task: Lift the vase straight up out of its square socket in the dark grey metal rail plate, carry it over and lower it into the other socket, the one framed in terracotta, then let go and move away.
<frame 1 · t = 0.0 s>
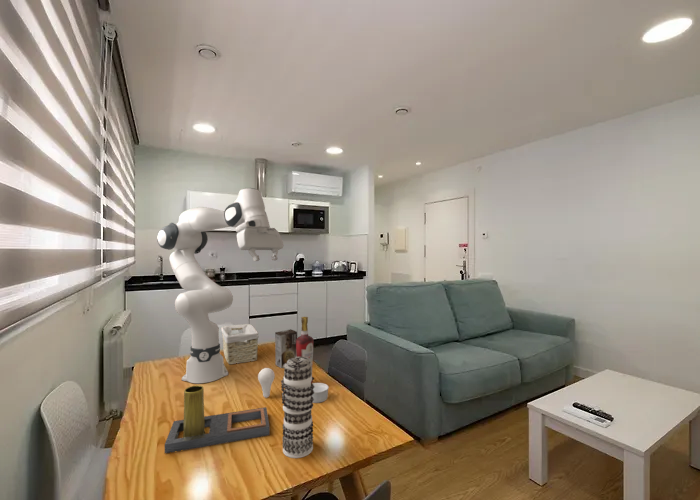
hand: (266, 260, 124), 52 cm above the table, tool tilted 20°, fingers open, 8 cm apart
storage basket: (239, 357, 171), on the table
coffee box: (286, 365, 159), on the table
liquor: (304, 385, 135), on the table
lightbulb: (266, 397, 123), on the table
decorative candle: (297, 449, 91), on the table
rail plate: (220, 432, 100), on the table
vase: (193, 437, 97), resting in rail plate
ramekin: (316, 399, 122), on the table
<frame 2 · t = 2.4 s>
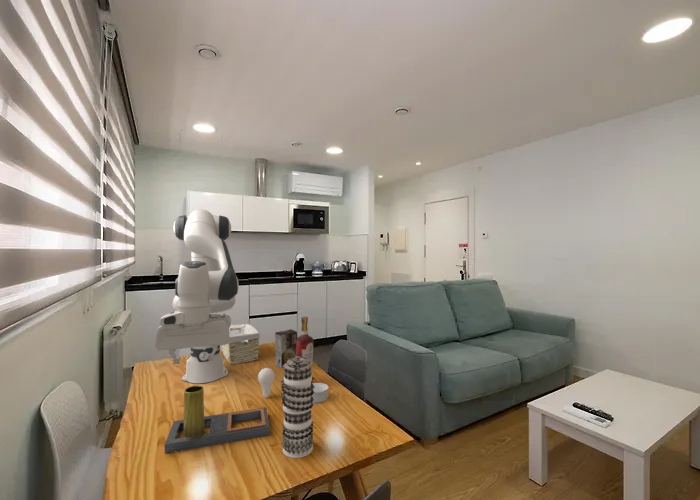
hand: (194, 361, 97), 22 cm above the table, tool pointing down, fingers open, 8 cm apart
nothing on the table moved.
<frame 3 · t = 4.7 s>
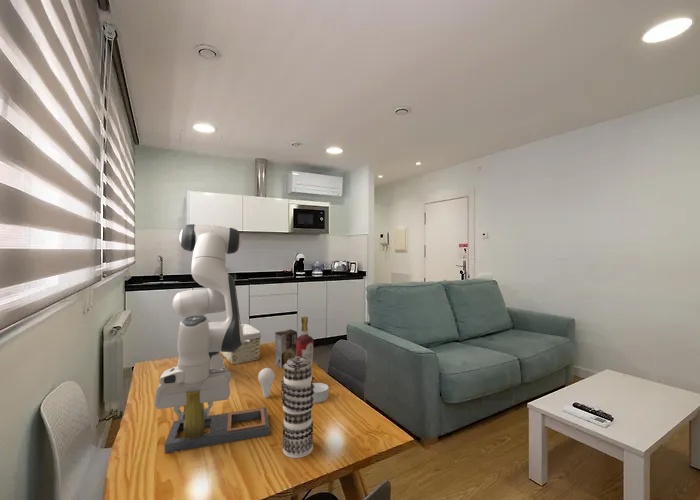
hand: (194, 417, 97), 6 cm above the table, tool pointing down, fingers closed on vase, 5 cm apart
vase: (193, 437, 97), resting in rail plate, touching gripper
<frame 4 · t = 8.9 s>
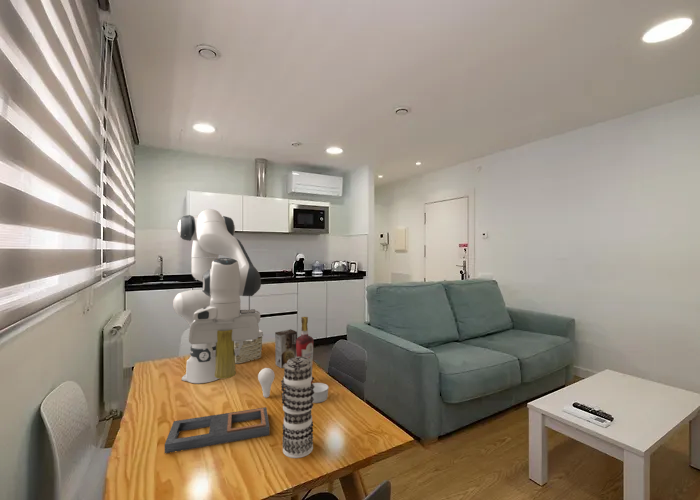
hand: (225, 355, 100), 23 cm above the table, tool pointing down, fingers closed on vase, 5 cm apart
vase: (225, 375, 100), point 17 cm above the table, touching gripper
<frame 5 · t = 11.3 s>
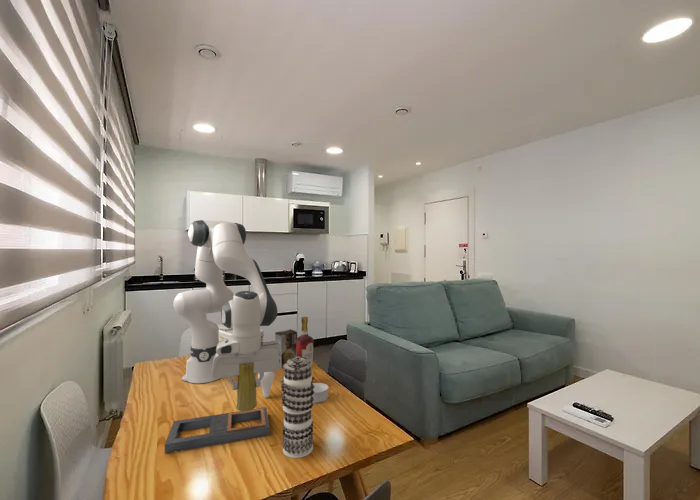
hand: (246, 387, 102), 13 cm above the table, tool pointing down, fingers closed on vase, 5 cm apart
vase: (246, 407, 102), point 6 cm above the table, touching gripper
when the fingers open (7 cm above the table, at t = 13.2 s): vase stays where it is, resting in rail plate.
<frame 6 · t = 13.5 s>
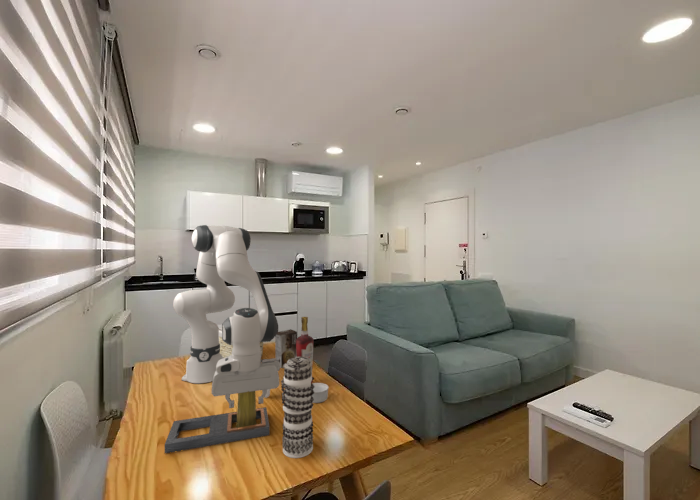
hand: (246, 405, 102), 7 cm above the table, tool pointing down, fingers open, 7 cm apart
vase: (246, 427, 102), resting in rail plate
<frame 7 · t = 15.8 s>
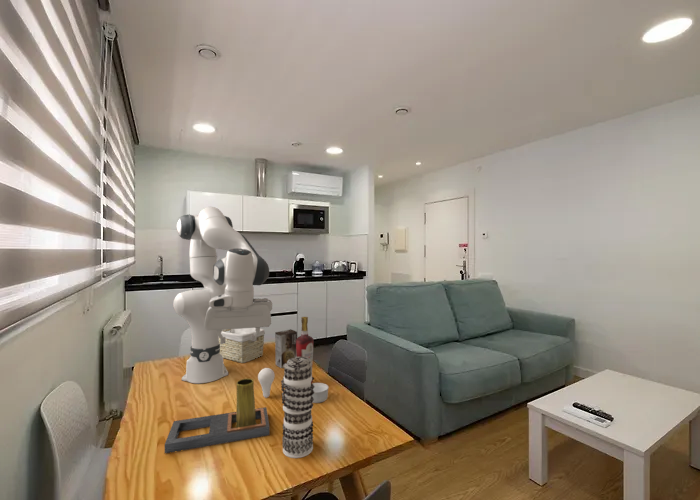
hand: (238, 342, 105), 26 cm above the table, tool pointing down, fingers open, 8 cm apart
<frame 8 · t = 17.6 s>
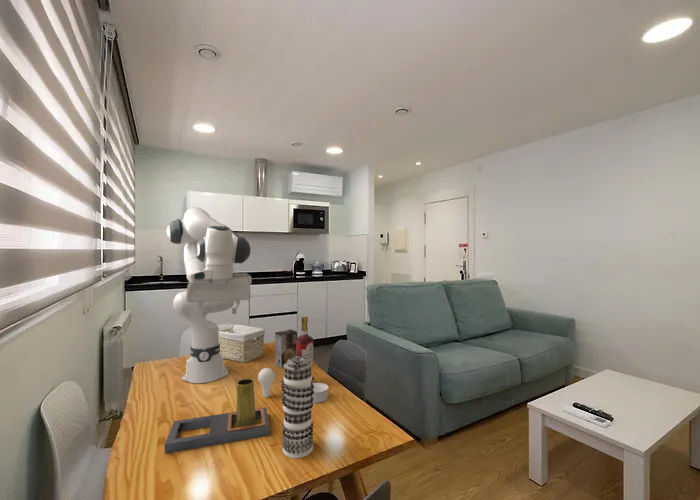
hand: (219, 314, 110), 34 cm above the table, tool pointing down, fingers open, 8 cm apart
at the end: vase 0.6 cm from the target spot on the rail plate, point 0.0 cm above the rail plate's base; vase tilted 1°; the gripper is holding nothing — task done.
